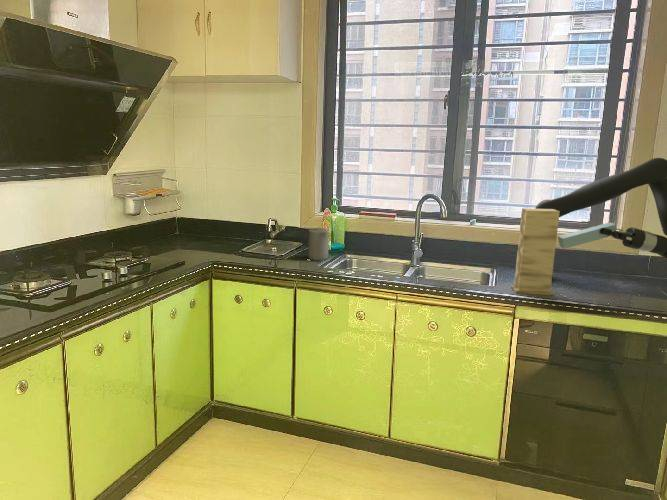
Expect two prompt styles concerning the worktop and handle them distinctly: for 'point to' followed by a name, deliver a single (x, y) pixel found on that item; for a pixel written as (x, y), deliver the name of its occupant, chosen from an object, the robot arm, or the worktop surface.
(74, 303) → the worktop surface
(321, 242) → the pillar candle
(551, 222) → the oak block
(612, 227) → the slate bar
